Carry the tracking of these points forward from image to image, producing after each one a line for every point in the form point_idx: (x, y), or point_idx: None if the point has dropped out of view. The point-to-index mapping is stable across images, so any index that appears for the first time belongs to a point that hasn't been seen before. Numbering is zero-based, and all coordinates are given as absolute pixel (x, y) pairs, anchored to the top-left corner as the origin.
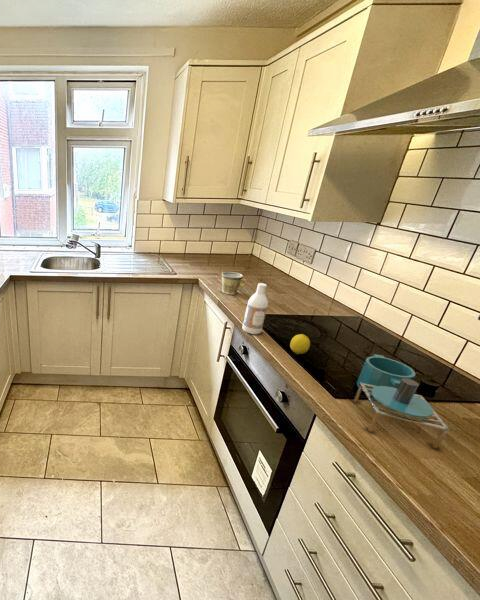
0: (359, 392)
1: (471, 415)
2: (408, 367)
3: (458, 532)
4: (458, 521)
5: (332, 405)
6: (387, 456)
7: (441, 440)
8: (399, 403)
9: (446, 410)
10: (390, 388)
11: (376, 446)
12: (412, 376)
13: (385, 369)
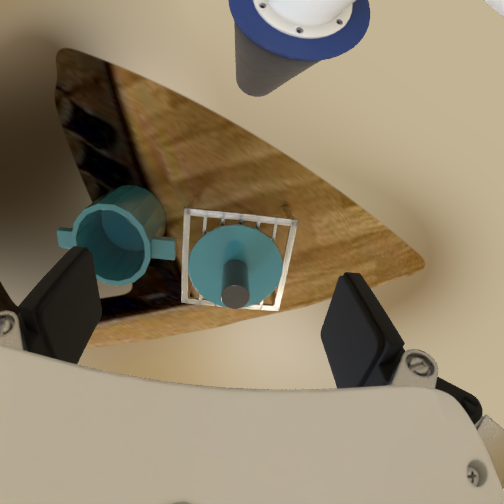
0: (190, 289)
1: (156, 85)
2: (94, 208)
3: (412, 262)
4: (403, 254)
5: (219, 312)
6: (322, 282)
7: (290, 211)
8: (249, 278)
9: (154, 123)
10: (195, 270)
11: (305, 288)
12: (135, 219)
13: (88, 222)
